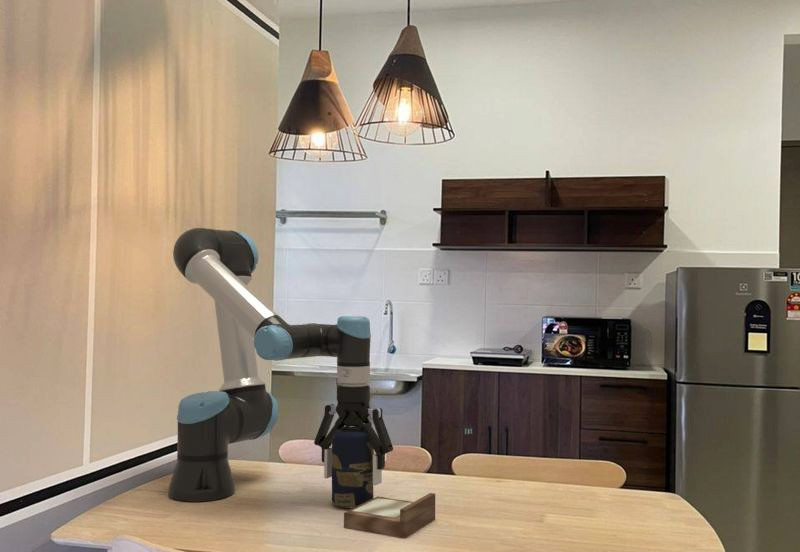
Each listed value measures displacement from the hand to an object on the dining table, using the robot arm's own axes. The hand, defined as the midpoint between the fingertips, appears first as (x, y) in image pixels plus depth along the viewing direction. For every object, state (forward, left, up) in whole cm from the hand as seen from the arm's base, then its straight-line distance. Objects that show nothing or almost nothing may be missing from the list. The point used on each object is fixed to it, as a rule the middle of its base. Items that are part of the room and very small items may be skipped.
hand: (352, 480), depth 167 cm
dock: (+14, -8, -5) cm, 17 cm away
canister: (0, 0, -6) cm, 6 cm away
